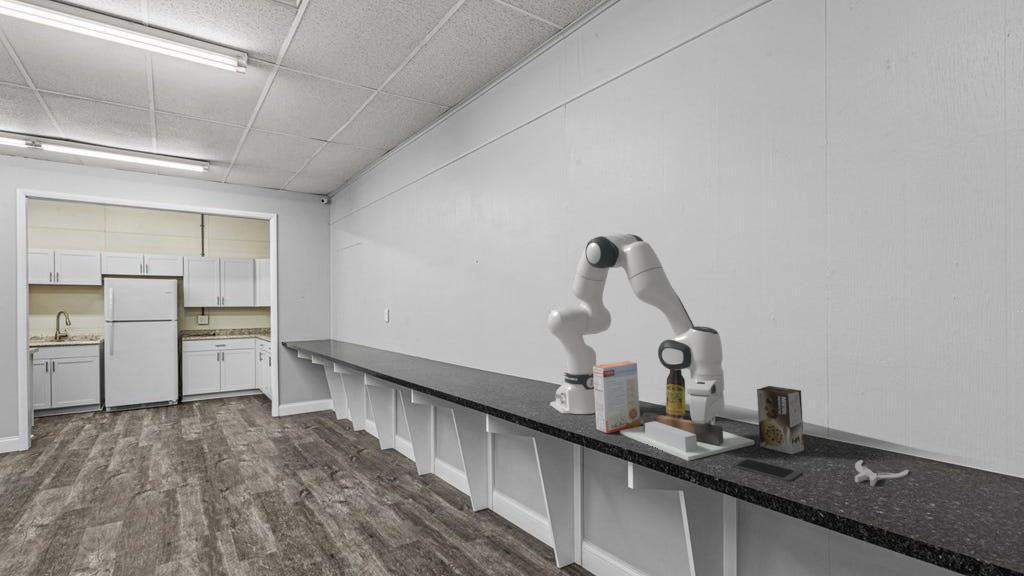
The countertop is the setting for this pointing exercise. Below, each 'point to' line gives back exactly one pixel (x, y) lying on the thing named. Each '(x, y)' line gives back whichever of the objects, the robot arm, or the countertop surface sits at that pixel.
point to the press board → (700, 445)
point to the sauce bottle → (675, 394)
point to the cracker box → (616, 396)
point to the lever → (689, 427)
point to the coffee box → (780, 419)
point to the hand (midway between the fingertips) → (709, 431)
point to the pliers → (874, 474)
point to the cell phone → (767, 469)
